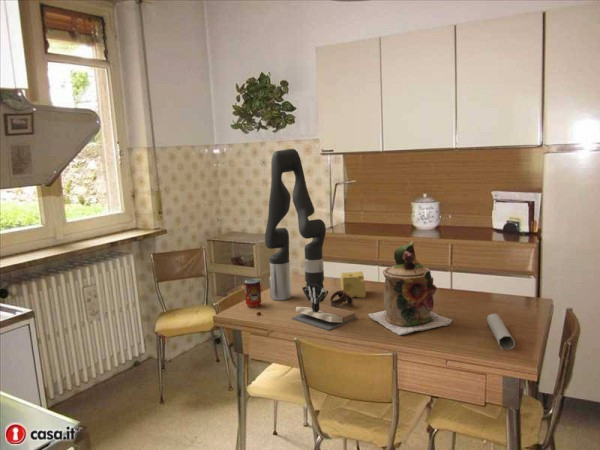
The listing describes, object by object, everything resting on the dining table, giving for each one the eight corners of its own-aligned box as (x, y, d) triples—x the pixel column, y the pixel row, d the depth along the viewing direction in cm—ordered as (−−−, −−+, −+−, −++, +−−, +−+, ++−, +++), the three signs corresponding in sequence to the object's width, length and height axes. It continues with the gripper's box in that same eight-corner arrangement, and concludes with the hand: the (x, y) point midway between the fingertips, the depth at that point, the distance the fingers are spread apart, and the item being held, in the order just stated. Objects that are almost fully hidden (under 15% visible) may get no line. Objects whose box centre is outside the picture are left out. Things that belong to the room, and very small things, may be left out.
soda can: (249, 309, 222) (247, 282, 220) (243, 305, 228) (242, 279, 227) (263, 306, 225) (262, 280, 223) (258, 302, 231) (256, 276, 230)
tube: (483, 313, 192) (496, 338, 168) (497, 309, 191) (512, 333, 166) (488, 326, 192) (501, 352, 168) (502, 322, 191) (517, 348, 167)
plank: (295, 311, 208) (296, 306, 208) (307, 312, 212) (307, 307, 213) (330, 322, 193) (331, 316, 193) (342, 322, 198) (343, 317, 198)
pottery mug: (356, 310, 215) (347, 296, 212) (336, 319, 217) (327, 305, 214) (354, 295, 226) (345, 281, 223) (336, 304, 228) (327, 290, 225)
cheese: (365, 297, 231) (365, 276, 229) (342, 298, 231) (341, 277, 229) (363, 291, 241) (362, 270, 239) (340, 292, 241) (340, 271, 240)
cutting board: (291, 318, 207) (291, 312, 207) (320, 308, 219) (319, 302, 218) (328, 330, 192) (328, 324, 192) (357, 318, 204) (357, 312, 203)
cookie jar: (366, 317, 205) (363, 241, 200) (415, 307, 214) (414, 234, 209) (401, 337, 182) (399, 252, 177) (454, 325, 192) (454, 243, 187)
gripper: (295, 269, 201) (297, 310, 204) (319, 273, 192) (321, 317, 194) (309, 265, 206) (310, 306, 209) (332, 270, 197) (334, 312, 199)
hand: (315, 311), depth 201 cm, fingers closed
